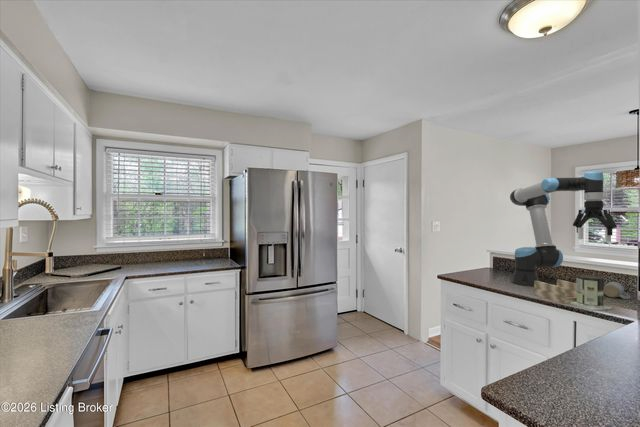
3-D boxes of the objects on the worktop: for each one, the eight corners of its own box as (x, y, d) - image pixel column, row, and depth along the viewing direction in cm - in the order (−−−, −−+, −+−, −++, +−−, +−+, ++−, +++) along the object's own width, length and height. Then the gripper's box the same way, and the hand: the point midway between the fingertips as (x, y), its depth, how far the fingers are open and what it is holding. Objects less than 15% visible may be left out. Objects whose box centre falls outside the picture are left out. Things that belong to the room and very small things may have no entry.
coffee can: (594, 301, 154) (594, 274, 154) (609, 308, 144) (609, 279, 144) (571, 300, 156) (571, 273, 156) (584, 307, 146) (584, 278, 146)
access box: (534, 294, 171) (534, 280, 171) (558, 293, 173) (558, 279, 173) (563, 303, 154) (563, 288, 154) (589, 301, 157) (589, 286, 157)
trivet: (569, 303, 154) (569, 301, 154) (587, 302, 156) (587, 300, 156) (592, 310, 143) (592, 308, 143) (611, 309, 145) (611, 307, 145)
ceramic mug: (601, 296, 166) (602, 282, 166) (605, 293, 171) (605, 280, 171) (628, 301, 158) (629, 286, 157) (631, 298, 162) (632, 284, 162)
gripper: (564, 201, 171) (564, 238, 171) (614, 199, 147) (614, 243, 147) (575, 201, 173) (575, 238, 173) (626, 199, 148) (626, 242, 148)
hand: (593, 240), depth 160 cm, fingers open, 13 cm apart
